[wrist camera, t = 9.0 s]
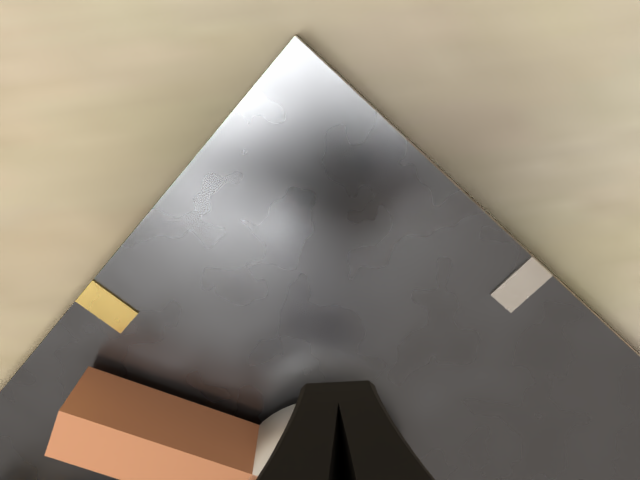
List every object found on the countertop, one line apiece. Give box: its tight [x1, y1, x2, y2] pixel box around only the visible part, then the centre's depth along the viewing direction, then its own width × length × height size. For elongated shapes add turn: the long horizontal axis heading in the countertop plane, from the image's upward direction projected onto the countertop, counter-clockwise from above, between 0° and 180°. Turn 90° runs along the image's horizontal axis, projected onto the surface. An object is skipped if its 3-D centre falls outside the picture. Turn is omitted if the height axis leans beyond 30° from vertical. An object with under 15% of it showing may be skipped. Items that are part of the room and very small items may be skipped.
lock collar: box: [44, 366, 296, 480], centre depth 20 cm, size 12×6×2 cm, turn 67°
